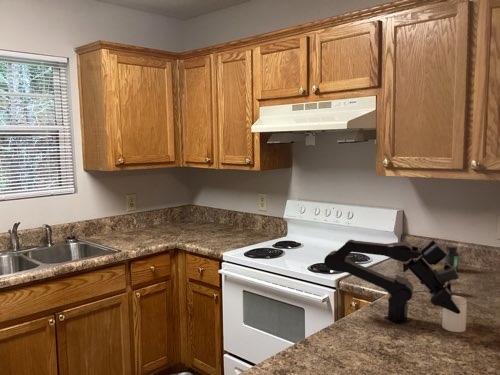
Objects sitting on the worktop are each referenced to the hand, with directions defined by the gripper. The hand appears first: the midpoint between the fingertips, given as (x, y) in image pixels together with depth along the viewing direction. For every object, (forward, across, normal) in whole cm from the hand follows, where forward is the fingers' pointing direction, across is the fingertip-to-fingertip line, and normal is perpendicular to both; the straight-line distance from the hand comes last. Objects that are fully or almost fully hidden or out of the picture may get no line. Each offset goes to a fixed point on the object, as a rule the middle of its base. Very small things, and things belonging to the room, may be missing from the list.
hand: (459, 309), depth 149 cm
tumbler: (+4, 0, +6) cm, 7 cm away
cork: (0, +37, +9) cm, 38 cm away
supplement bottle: (+4, +74, +6) cm, 74 cm away
